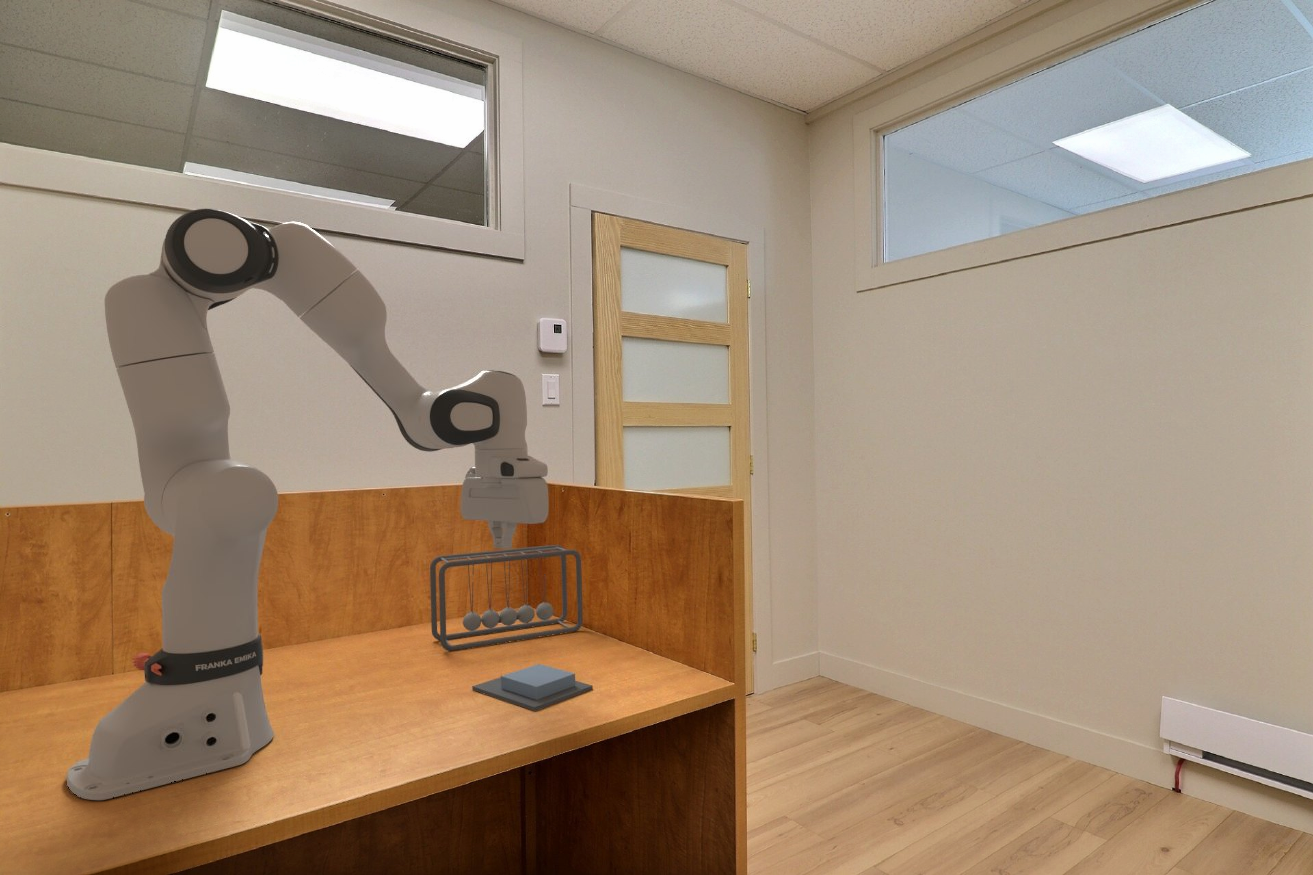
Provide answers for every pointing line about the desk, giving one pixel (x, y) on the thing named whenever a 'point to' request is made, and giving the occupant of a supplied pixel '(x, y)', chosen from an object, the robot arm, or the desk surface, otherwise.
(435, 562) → the newton's cradle
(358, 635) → the desk surface
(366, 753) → the desk surface
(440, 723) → the desk surface
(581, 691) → the mat
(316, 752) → the desk surface
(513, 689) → the tile
